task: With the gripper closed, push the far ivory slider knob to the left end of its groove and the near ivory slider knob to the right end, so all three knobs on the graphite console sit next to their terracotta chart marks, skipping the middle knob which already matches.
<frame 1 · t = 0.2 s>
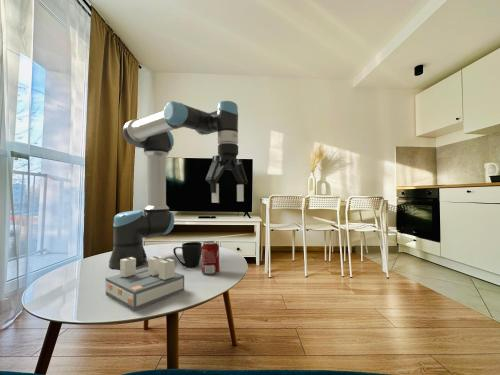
hand: (228, 202, 88), 28 cm above the table, fingers open, 13 cm apart
slider near: (166, 268, 74), point 8 cm above the table, slide at 3.0 cm
slider mid: (155, 265, 77), point 8 cm above the table, slide at 3.0 cm
console: (145, 292, 75), on the table
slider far: (128, 266, 76), point 8 cm above the table, slide at -3.0 cm
mug: (187, 267, 102), on the table
soda can: (210, 273, 93), on the table
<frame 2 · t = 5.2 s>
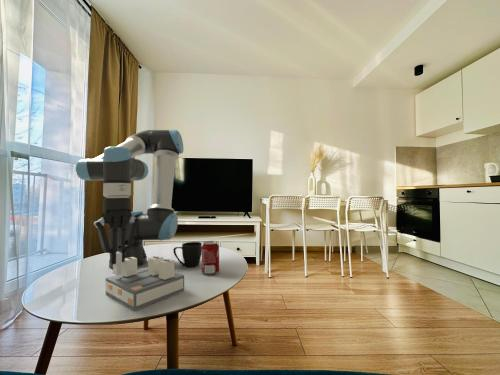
hand: (117, 273, 74), 7 cm above the table, fingers closed
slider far: (129, 266, 77), point 8 cm above the table, slide at -2.6 cm, touching gripper
everything else where it was.
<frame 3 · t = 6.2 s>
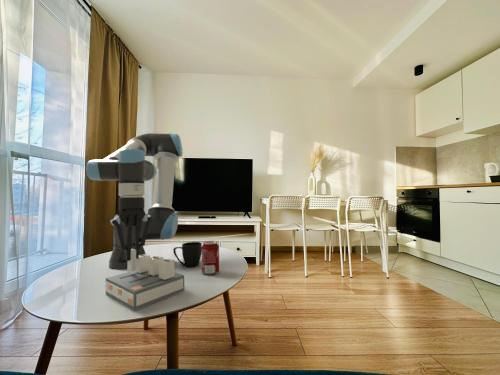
hand: (131, 269, 77), 7 cm above the table, fingers closed
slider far: (142, 263, 80), point 8 cm above the table, slide at 1.8 cm, touching gripper
everything else where it was.
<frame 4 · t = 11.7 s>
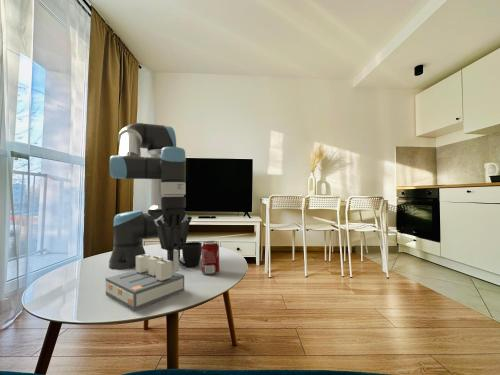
hand: (173, 270, 76), 7 cm above the table, fingers closed
slider near: (163, 269, 73), point 8 cm above the table, slide at 2.0 cm, touching gripper
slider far: (143, 262, 80), point 8 cm above the table, slide at 2.0 cm
everything else where it was.
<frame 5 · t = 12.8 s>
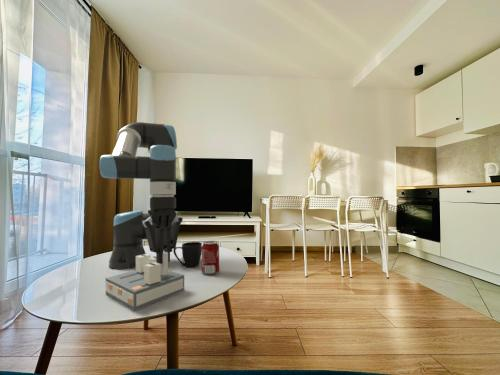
hand: (163, 273, 73), 7 cm above the table, fingers closed
slider near: (152, 272, 70), point 8 cm above the table, slide at -1.7 cm, touching gripper
everything else where it was.
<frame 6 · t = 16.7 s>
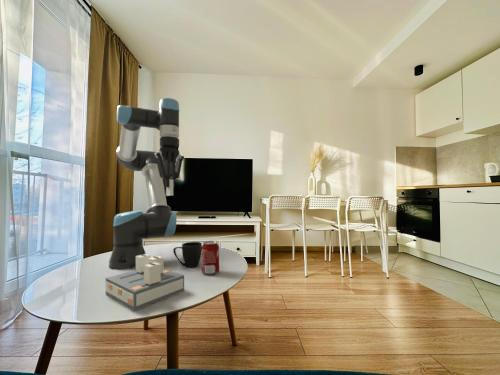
hand: (169, 195, 97), 30 cm above the table, fingers closed
slider near: (152, 272, 70), point 8 cm above the table, slide at -1.8 cm
everything else where it was.
at the end: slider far slide at 2.0 cm; slider near slide at -1.8 cm; slider mid slide at 3.0 cm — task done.
